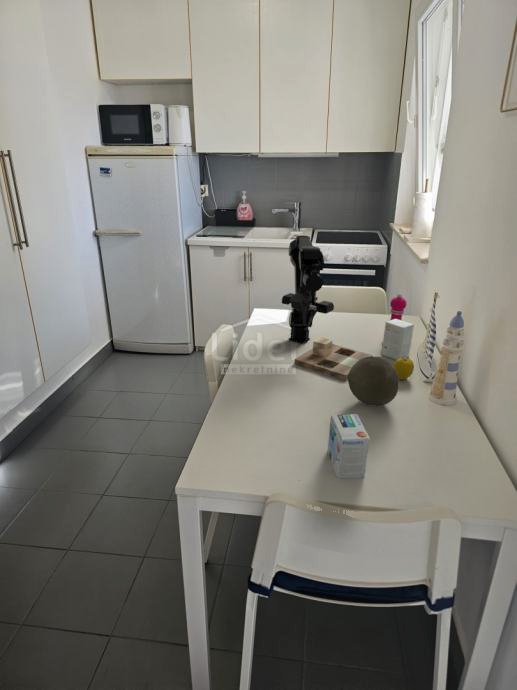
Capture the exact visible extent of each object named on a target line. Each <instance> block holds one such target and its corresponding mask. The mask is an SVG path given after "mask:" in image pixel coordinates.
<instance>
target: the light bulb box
mask: <svg viewBox="0 0 517 690" xmlns="http://www.w3.org/2000/svg"><path fill="white" fill-rule="evenodd" d="M328 431H329V433H328V440H327V441H328V443H327V451H326V452H327V455H328V457H329V459H330V463H331V465H332V468H333V471H334V474H335V477H336V478H337V479H348V478H349V479H350V478H351V479H355V478H358V479H359V478H360V479H361V478H365V474H366V465H367V459H368V453H369V447H370V440H371V438H370V436H369V434H368V432H367V430H366V428H365V427H364V425H363V423H362V420H361V419H360V417H359V415H358V414H356V413H353V414H331V415H330V424H329V430H328Z"/></svg>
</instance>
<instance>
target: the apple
mask: <svg viewBox="0 0 517 690" xmlns="http://www.w3.org/2000/svg"><path fill="white" fill-rule="evenodd" d="M392 366H393V368H394V369H395V371H396V372H397V374H398V378H399V380H407V379H409V377H411V376H412V374H413V372H414V369H415V365H414V361H413V360H411V358H409V357H407V358H399V359H398V360H396V361H395V362H394V363H393V365H392Z"/></svg>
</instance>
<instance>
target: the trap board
mask: <svg viewBox="0 0 517 690" xmlns="http://www.w3.org/2000/svg"><path fill="white" fill-rule="evenodd" d="M312 353H313V347H312V348H311V349H309V350H307V351H306V352H303V353H302V354H301V355H299V356H297V357H295V358H294V365H295V366H297V367H298V366H299V367H301V368H305V369H308V370H311V371H314V372H318V373H320V374H323V375H326V376H330V377H332V378H335V377H336V378H335V379H339V380H342V381H345V380H346V381H348V375H349V372H350V370H351V368H352V366H353V365H354V364H355V363H356V362H357V361H358V360H360V359H362V358H364V357H370V356H372V357H374V356H373V354H369V353H366V352H362V351H360V350H355V349H352V348H347V347H344V346H341V345H338V344H333V343H332V351H331V354H329V355H328V356H326V357H321V356H318V355H315V354H312ZM344 354H345V355H344ZM347 355H348V356H347ZM323 365H327V366H330V367H332V368H328V367H326V366H323Z"/></svg>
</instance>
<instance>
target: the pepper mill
mask: <svg viewBox="0 0 517 690" xmlns="http://www.w3.org/2000/svg"><path fill="white" fill-rule="evenodd" d="M402 296H403V295H402V293H398V294H397V295H396V296H395V297H393V298H392V299H391V300H390V304H389V305H390V307H391V308H390V313H391V315H390V319H389V321H390V320H393V319H398V320H401V321H403V320H402V318H403V317H402V316H403V315H404V314H405V309H406V307H407V300H406V299H405V298H404V297H402Z"/></svg>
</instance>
